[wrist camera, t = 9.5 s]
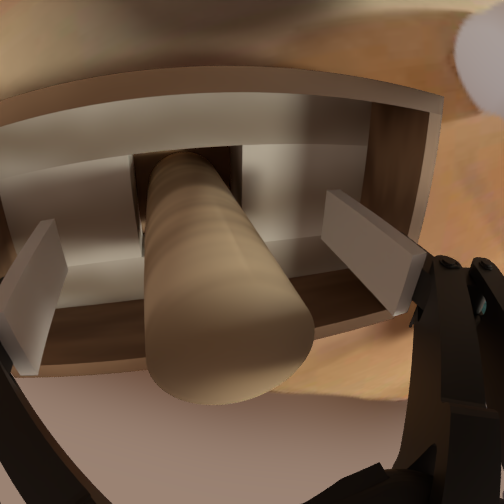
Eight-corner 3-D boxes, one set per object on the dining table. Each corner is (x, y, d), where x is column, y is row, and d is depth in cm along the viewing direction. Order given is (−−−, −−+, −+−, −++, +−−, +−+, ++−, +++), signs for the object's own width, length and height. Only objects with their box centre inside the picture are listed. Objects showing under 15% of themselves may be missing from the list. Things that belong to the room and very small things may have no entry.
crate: (-4, 109, 13) (-78, 133, 6) (359, 83, 19) (444, 96, 12) (40, 296, 20) (14, 377, 13) (338, 257, 26) (393, 318, 19)
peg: (144, 155, 18) (127, 300, 6) (218, 149, 19) (326, 271, 7) (151, 223, 20) (163, 414, 9) (219, 215, 21) (303, 386, 10)
